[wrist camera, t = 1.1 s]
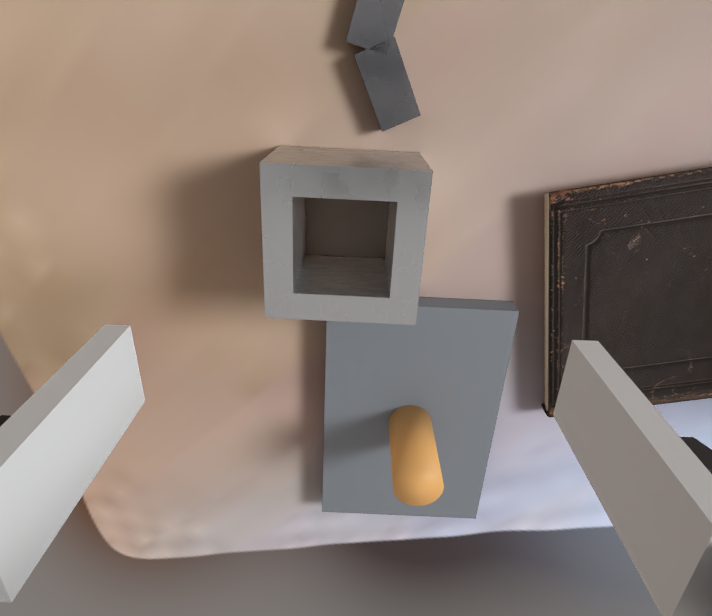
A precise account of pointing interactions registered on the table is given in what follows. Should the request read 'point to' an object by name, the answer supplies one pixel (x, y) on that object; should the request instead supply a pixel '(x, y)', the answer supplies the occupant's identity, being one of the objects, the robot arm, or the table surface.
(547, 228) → the hardcover book
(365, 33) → the chain tail
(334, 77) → the table surface
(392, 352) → the keeper
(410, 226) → the square tube segment
